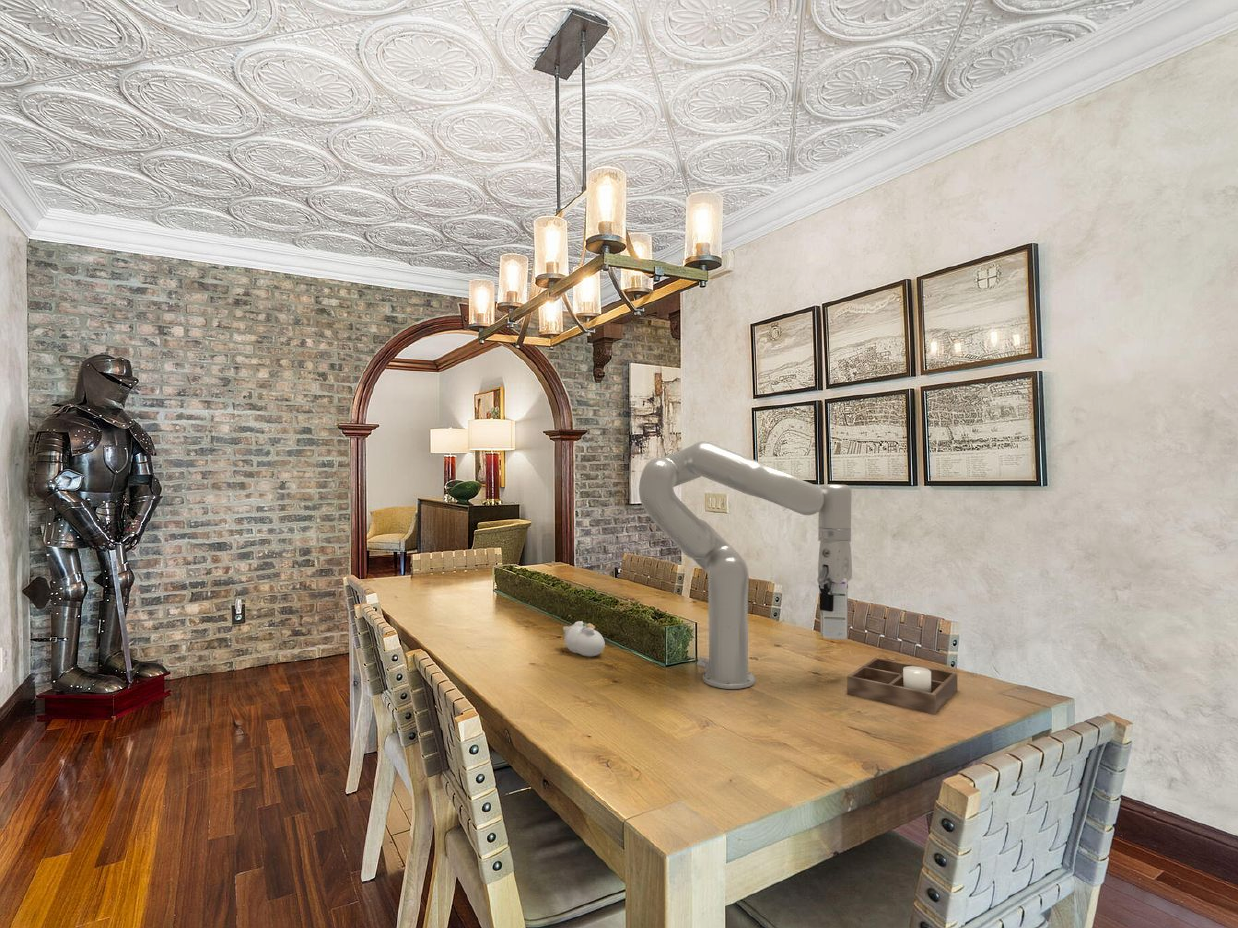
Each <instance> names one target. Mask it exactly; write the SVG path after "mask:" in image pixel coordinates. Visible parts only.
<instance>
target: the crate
mask: <svg viewBox="0 0 1238 928" xmlns="http://www.w3.org/2000/svg"><path fill="white" fill-rule="evenodd" d="M908 666H916V667H922V668H926V669H929V670H930V671H931V693H929V692H924V691H919V690H914V689H910V688H905V687H903V668H904V667H908ZM958 684H959V683H958V672H954V671H948V670H945V669H938V668H933V667H928V666H922V665H915V664H912V663H906V662H901V661H897V660H890V659H886V658H885V659H884V658H880V657H879V658H878V657H874V658H873V659H871V660H869V661H868V662H867V663H865V664H864V665H862V666H861V667H859V668H857V669H856V670H855V671H853V672H852V673H849V675H847V676H846V694H847V695H848V696H853V697H855V698H861V699H865V700H870V701H874V702H879V703H884V704H886V705H887V704H888V705H892V706H896V707H900V708H904V709H909V710H912V711H917V712H923V713H926V714H930V715H935V716H936V714H937V713H938V712H939V711H940V710H941V709H942V708H943V707H944V705H946V704H947V702H949V701H950V699H952V697H953V696H954V695H956V693H957V692H958V686H959V685H958Z"/></svg>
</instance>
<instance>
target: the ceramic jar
mask: <svg viewBox="0 0 1238 928" xmlns="http://www.w3.org/2000/svg"><path fill="white" fill-rule="evenodd" d="M903 687H905V688H910V689H914V690H919V691H924V692H929V693H931V671H930V670H929V669H926V668H922V667H916V666H908V667H904V668H903Z"/></svg>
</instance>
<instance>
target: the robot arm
mask: <svg viewBox="0 0 1238 928" xmlns="http://www.w3.org/2000/svg"><path fill="white" fill-rule="evenodd" d="M701 477H703V478H705V479H708V480H710V481H713V482H715V483H718V484H721V485H723V486H725V487H728V488H730V489H733V490H735V491H738V492H740V493H743V494H745V495H747V496H751V497H755V498H759V499H763V500H765V501H768V502H770V503H773V504H775V505H777V506H781V507H784V508H785V509H788V510H790V511H793V512H795V513H797V514H800V515H802V516H813V515H815V514H817V513H818V529H817V531H818V532H817V535H818V536H817V537H818V538H817V540H818V541H819V550H818V560H817V561H818V562H817V563H818V564H817V579H816V580H817V583H818V589H819V590H818V592H819V611H820V610H823V611H829V612H832V611H833V605H834V595H832V591H833V587H834V583H835V584H841V583H843V579H846V580H847V590H848V588H849V585H848V582H849V581H851V580H852V578H853V566H852V565H853V564H852V563H853V561H852V548H851V542H852V497H853V494H852V488H851V487H850V486H849V485H847V484H837V483H829V484H828V483H827V484H826V483H825V484H813V483H811V482H808V481H805V480H802V479H801V478H798V477H795V476H793V475H790V474H787V473H786V472H783V471H780V470H778V469H775V468H773V467H770V466H769V465H766V464H765V463H762V462H760V461H758V460H755V459H753V458H750V457H748V456H746V455H743V454H739V453H737V452H735V451H732V450H729V449H728V448H725V447H722V446H720V445H717V444H715V443H713V442H712V443H711V442H709V441H698V442H695V443H694V444H693V445H690V446H689V447H686V448H684V449H681V450H678V451H676V452H673V453H670V454H667V455H664V456H662V457H656V458H653V459H651V460H649V461H648V462H647V463H646V465H644V467H643V469H642V472H641V475H640V478H639V485H638V495H639V499H640V503H641V506H642V507H643V510H644V511H645V513H646V515H648V517H649V518H650V519H651V520H652V521H653V522H654V523H655V525H656V526H657V527H659V529H660V530H661V531H662V532H663V533H664V534H665V535H666V536H667V537H668V539H670V540H671V541H672V542H673V543H674V545H676V547H678V549H679V551H681V552H682V553H683V555H685V556H686V557H688V558H690V559H692V560H693V561H694V562H695V563H696V564H697V565H698V566H699V567H700V568H701V569H702V570H703V571H704V572H705V573H706V574H707V575H708V577H707V580H708V581H707V582H708V590H707V591H708V598H707V599H708V600H707V601H708V605H707V606H708V609H707V610H708V611H707V612H708V658H706V657H702V656H699V657H698V658H697V663H696V666H697V667H698V668H702V669H704V671H705V672H704V673H703V674H702V680H703V682H704V683H705V684H707V685H709V686H711V687H715V688H719V689H727V690H728V689H729V690H737V689H738V690H740V689H745V688H748V687H751V686H753V685H754V684H755V683H756V678H755V676H754V674H753V673H751V672H749V625H748V624H749V622H748V621H749V620H748V619H749V618H748V616H749V615H748V613H749V611H748V609H749V607H748V604H749V603H748V601H749V600H748V597H749V596H748V595H749V570H748V566H747V564H746V561H745V560H744V559H743V557H742V556H741V555H740V554H739V552H738V551H737V550H735V548H733V546H732V545H730V544H729V543H728V542H727V541H726V540H725V539H724V538H723V537H722V536H721V534H720V533H718V532H717V531H716V530H715V528H713V527H712V525H710V524H709V523H708V522H707V521H705V520H703V519H702V518H701V519H700V518H699V517H697V516H696V514H694V513H693V512H692V510H690V509H689V508H688V506H687V505H685V503H683V501H682V500H681V499H680V498H679V497H678V496H677V495H676V493H675V490H674V488H675V487H677V486H681V485H683V484H686V483H688V482H691V481H695V480H696V479H700V478H701ZM826 578H827V579H830V580H831V581H826V580H825V579H826ZM827 585H830V586H829V588H828V586H827Z"/></svg>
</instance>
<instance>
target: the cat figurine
mask: <svg viewBox="0 0 1238 928" xmlns="http://www.w3.org/2000/svg"><path fill="white" fill-rule="evenodd" d="M595 629H596V626H595V625H593V623H590V622H589V623H587V622H585V621H584V622H583V620H581V621H580V620H578V621H575V622H574V623H573V624H571V625H570V626H565V625H564V626H562V630H563V633H564V636H563V637H564V638H563V639H564V643H565V646H566V647H567V649H569V651H570V652H572V653H574V654H579V655H581V656H584V657H588V658H589V657H595V656H599V655H600V654H601V653H603V652H604V650H605V647H606V643H605V639H604V637H603V635H602V634H601V633H600V632H599V631H598V630H595Z"/></svg>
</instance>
